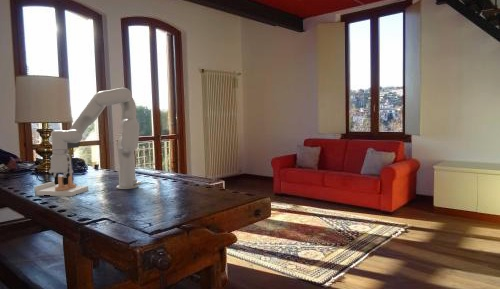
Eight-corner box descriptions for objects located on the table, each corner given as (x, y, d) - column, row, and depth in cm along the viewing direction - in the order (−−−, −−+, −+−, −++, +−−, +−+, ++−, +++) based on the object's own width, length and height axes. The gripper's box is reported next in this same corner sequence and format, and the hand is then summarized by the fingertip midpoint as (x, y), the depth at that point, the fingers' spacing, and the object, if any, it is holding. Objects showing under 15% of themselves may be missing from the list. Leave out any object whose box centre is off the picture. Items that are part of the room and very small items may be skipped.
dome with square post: (71, 192, 209) (70, 175, 208) (63, 195, 202) (63, 177, 201) (60, 192, 210) (59, 175, 209) (52, 194, 203) (51, 177, 202)
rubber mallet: (63, 184, 235) (61, 137, 232) (58, 182, 240) (56, 137, 237) (82, 181, 244) (80, 136, 242) (77, 180, 249) (75, 136, 247)
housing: (88, 190, 216) (87, 173, 215) (71, 196, 200) (70, 178, 199) (54, 189, 219) (53, 172, 218) (34, 195, 203) (34, 177, 202)
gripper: (78, 151, 206) (79, 183, 208) (50, 151, 209) (52, 182, 210) (69, 153, 199) (71, 186, 200) (41, 152, 201) (43, 185, 203)
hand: (61, 184), depth 205 cm, fingers open, 4 cm apart
